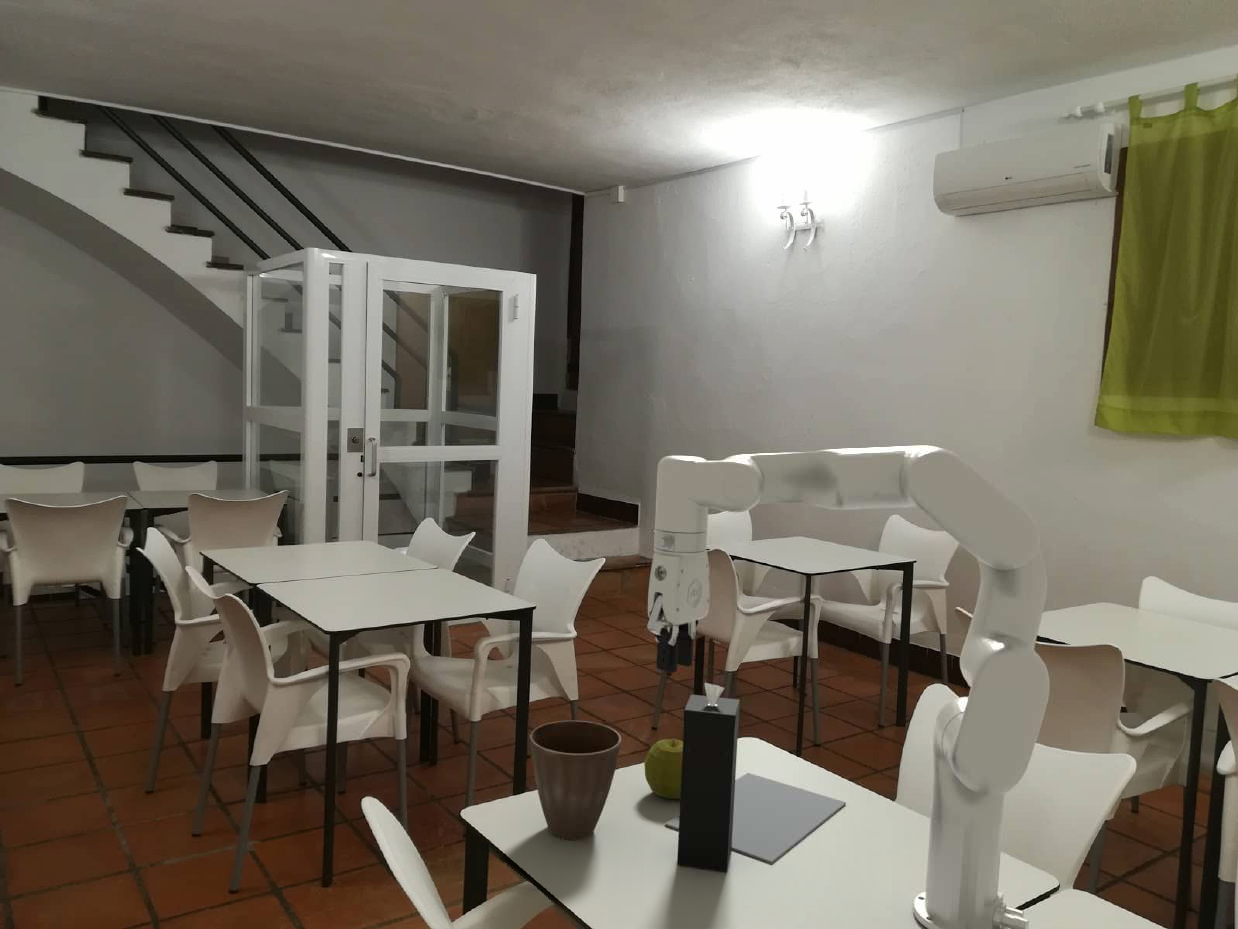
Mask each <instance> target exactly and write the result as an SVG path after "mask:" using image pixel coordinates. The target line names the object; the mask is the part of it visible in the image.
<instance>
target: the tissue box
mask: <svg viewBox="0 0 1238 929" xmlns="http://www.w3.org/2000/svg"><path fill="white" fill-rule="evenodd" d="M704 689H705V690H704V691H705V694H706V695H700V694H699V695H698V694H690V695H689V697H688V700H687V702H686V705H685V707H684V710H683V736H682V737H683V739H682V741H683V754H682V774H681V795H680V798H679V799H680V800H679V814H678V815H679V831H678V840H677V859H676V864H677V866H683V867H687V868H696V869H701V870H702V869H703V870H710V871H717V872H723V873H724V872H725V873H727V872H728V869H729V865H730V864H729V863H730V859H731V854H732V851H733V850H732V832H733V813H734V794H735V780H736V774H737V773H736V770H737V755H738V736H739V718H740V715H739V714H740V713H739V712H740V705H741V704H740V703H741V702H740V701H741V700H740V699H738V698H737V699H736V698H728V697H727V698H726V697H720V696H721V694H722V693H723V691H724V690H725V687H722V686H720V685H717V684H712V683H708V682H704Z"/></svg>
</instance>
